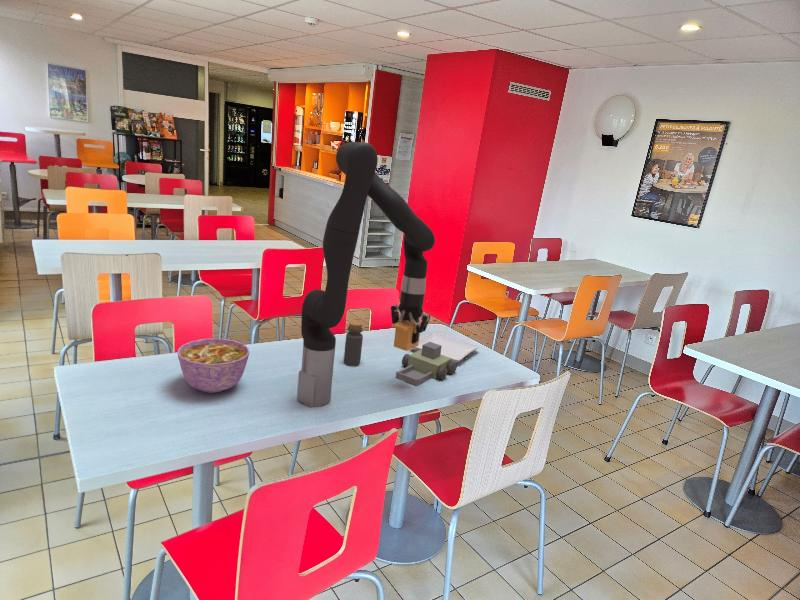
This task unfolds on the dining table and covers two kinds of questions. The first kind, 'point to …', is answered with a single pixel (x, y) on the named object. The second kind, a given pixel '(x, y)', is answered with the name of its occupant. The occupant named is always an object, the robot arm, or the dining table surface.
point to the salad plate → (449, 346)
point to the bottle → (353, 344)
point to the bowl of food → (213, 363)
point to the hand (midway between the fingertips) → (406, 340)
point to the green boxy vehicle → (426, 365)
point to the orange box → (404, 335)
